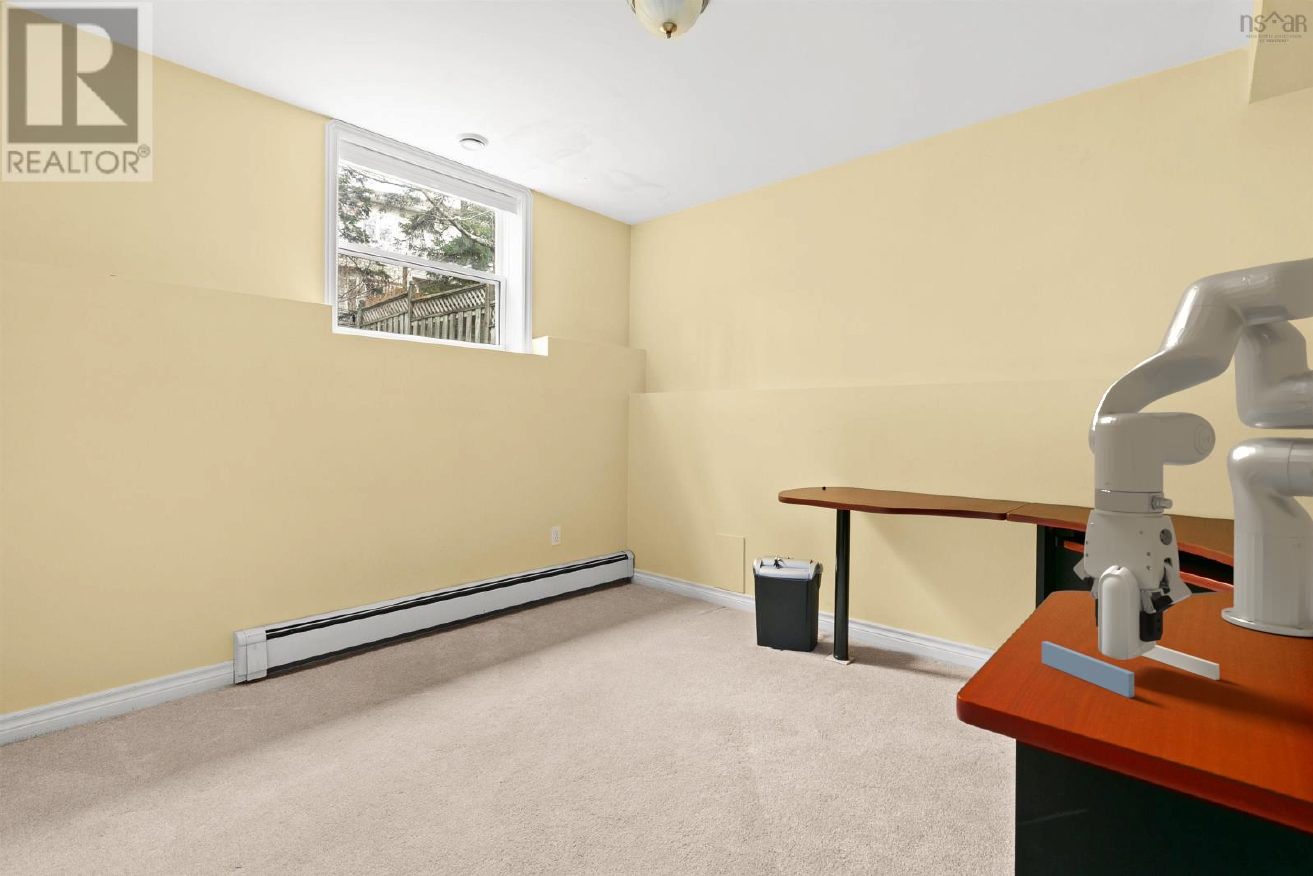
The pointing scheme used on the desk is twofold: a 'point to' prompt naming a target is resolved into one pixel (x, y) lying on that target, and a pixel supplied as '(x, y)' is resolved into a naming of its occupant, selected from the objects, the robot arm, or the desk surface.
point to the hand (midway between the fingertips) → (1127, 632)
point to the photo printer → (1120, 615)
